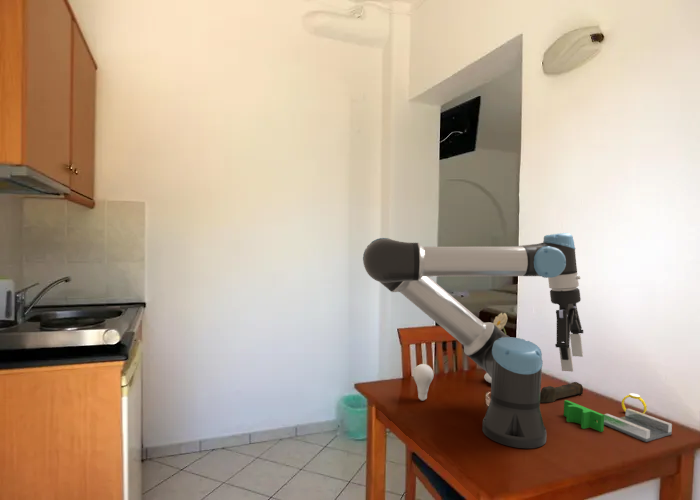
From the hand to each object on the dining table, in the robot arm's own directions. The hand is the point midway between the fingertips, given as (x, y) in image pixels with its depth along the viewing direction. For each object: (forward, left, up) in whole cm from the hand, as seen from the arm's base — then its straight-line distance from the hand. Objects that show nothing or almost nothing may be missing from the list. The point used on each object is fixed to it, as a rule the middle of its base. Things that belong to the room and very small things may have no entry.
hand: (572, 363), depth 123 cm
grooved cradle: (+9, -13, -15) cm, 22 cm away
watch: (+19, -6, -15) cm, 25 cm away
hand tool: (+10, +11, -16) cm, 21 cm away
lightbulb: (-32, +26, -15) cm, 44 cm away
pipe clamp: (-2, -4, -16) cm, 16 cm away
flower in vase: (+2, +28, -15) cm, 32 cm away
